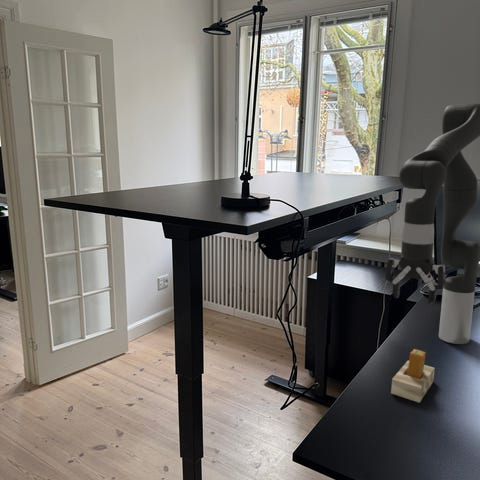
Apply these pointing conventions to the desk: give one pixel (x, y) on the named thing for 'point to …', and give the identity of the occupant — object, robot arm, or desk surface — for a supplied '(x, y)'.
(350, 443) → the desk surface
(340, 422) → the desk surface
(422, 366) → the supplement box
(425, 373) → the socket block
